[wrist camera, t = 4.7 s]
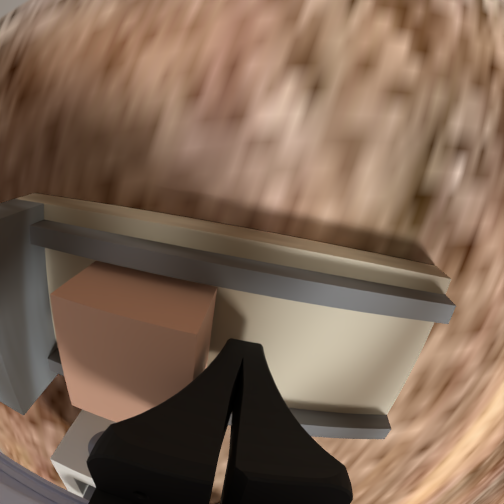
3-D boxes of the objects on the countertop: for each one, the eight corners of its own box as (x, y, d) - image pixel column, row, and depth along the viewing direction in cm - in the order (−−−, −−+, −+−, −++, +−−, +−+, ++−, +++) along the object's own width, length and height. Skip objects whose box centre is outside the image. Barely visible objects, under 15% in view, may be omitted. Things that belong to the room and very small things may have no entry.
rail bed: (48, 344, 16) (-4, 399, 10) (34, 193, 13) (-49, 220, 8) (369, 414, 15) (389, 493, 10) (435, 266, 12) (504, 328, 7)
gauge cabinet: (102, 449, 19) (75, 501, 13) (88, 395, 17) (48, 455, 11) (177, 473, 19) (159, 533, 13) (178, 423, 16) (152, 497, 11)
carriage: (103, 361, 13) (71, 404, 10) (96, 260, 12) (49, 294, 9) (204, 389, 13) (188, 443, 10) (217, 286, 12) (197, 334, 9)
